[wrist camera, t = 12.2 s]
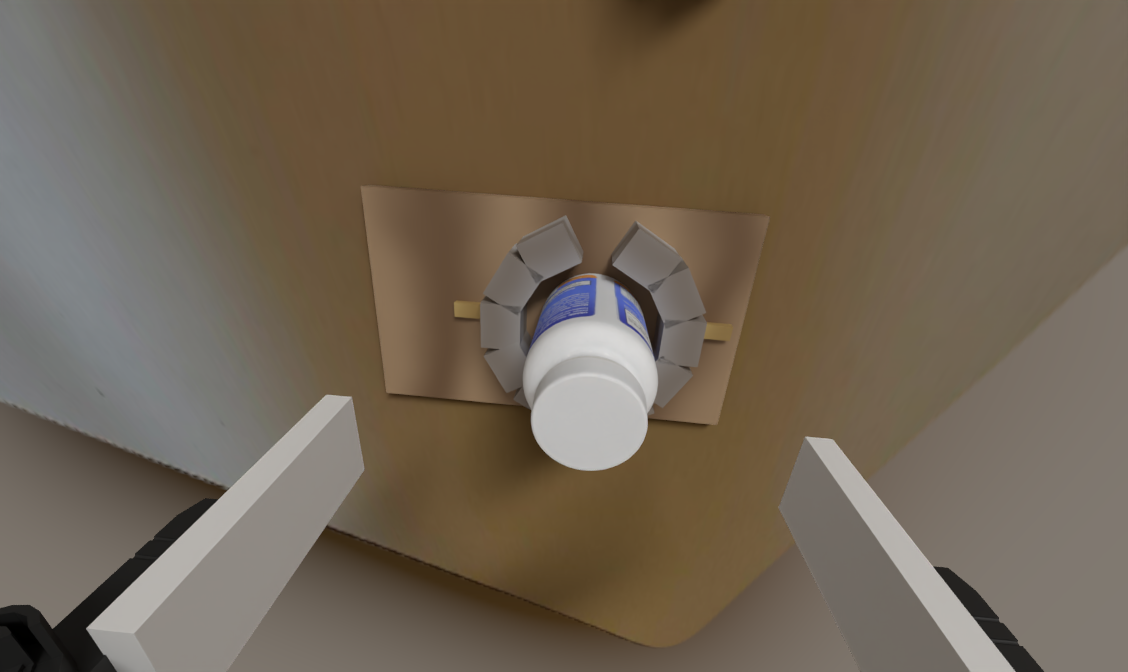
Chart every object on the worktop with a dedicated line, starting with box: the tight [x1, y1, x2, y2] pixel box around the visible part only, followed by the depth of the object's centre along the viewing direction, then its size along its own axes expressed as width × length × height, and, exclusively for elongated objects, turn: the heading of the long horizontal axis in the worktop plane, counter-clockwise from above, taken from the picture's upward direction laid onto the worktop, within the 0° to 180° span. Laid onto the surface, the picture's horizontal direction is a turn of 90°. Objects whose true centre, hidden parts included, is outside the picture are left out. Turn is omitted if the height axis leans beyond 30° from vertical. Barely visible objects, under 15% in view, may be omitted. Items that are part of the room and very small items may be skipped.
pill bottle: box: [523, 273, 658, 471], centre depth 19 cm, size 5×5×10 cm
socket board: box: [361, 185, 770, 425], centre depth 23 cm, size 20×12×3 cm, turn 86°
